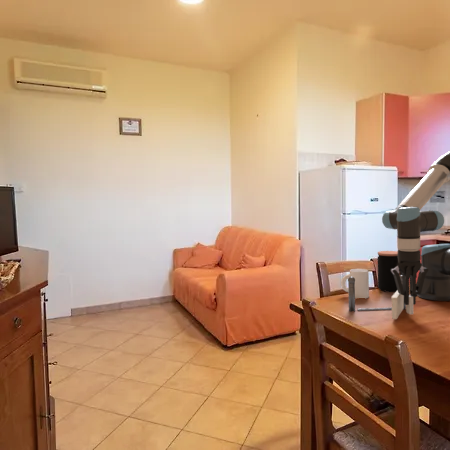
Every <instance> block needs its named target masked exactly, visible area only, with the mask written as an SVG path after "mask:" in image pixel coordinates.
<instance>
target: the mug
mask: <svg viewBox="0 0 450 450" xmlns="http://www.w3.org/2000/svg"><path fill="white" fill-rule="evenodd" d="M369 276H370V275H369V269H366V268H352V269H350V270H349V273H348V274H346V275H344V276H343V277H342V278H341V281H340V285H341V289H343V291H345V292H346V293H349V290H348V287H347V285H346V282H347V281H348V278H349V277H354V278H355V299H357V298H365V299H368V298H369V297H370V287H369V286H370V284H369V282H370V281H369V280H370V279H369Z"/></svg>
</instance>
